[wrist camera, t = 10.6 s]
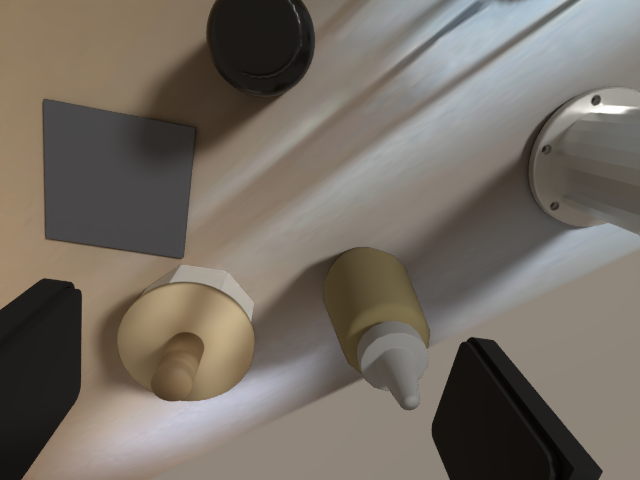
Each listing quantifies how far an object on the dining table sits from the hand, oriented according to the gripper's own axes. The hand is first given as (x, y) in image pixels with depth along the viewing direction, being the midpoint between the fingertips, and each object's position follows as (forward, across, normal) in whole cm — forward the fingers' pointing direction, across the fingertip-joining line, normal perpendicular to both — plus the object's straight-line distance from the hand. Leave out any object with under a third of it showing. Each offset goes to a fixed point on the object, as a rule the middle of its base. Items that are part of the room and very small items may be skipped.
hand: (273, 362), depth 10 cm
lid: (+24, +6, +16) cm, 29 cm away
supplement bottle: (+28, +3, -9) cm, 30 cm away
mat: (+28, +14, +4) cm, 32 cm away
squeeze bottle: (+28, -9, +9) cm, 31 cm away
